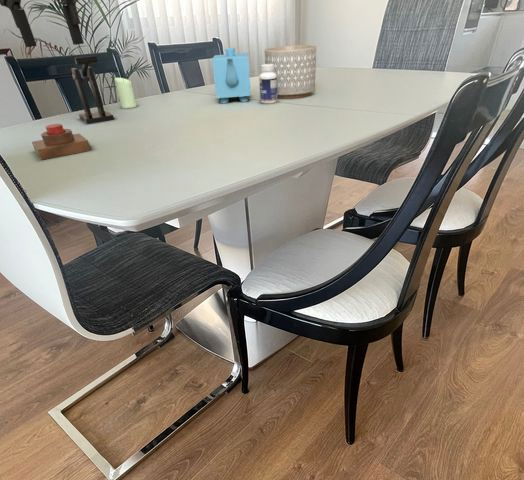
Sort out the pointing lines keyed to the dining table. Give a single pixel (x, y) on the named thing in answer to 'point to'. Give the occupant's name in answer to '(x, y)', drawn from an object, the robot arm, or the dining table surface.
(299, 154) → the dining table surface
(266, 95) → the pill bottle
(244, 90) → the blue teardrop bottle box
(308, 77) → the planter
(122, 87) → the candle
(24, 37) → the robot arm
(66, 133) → the button block
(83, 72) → the lever
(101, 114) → the bracket
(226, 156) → the dining table surface
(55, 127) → the button
